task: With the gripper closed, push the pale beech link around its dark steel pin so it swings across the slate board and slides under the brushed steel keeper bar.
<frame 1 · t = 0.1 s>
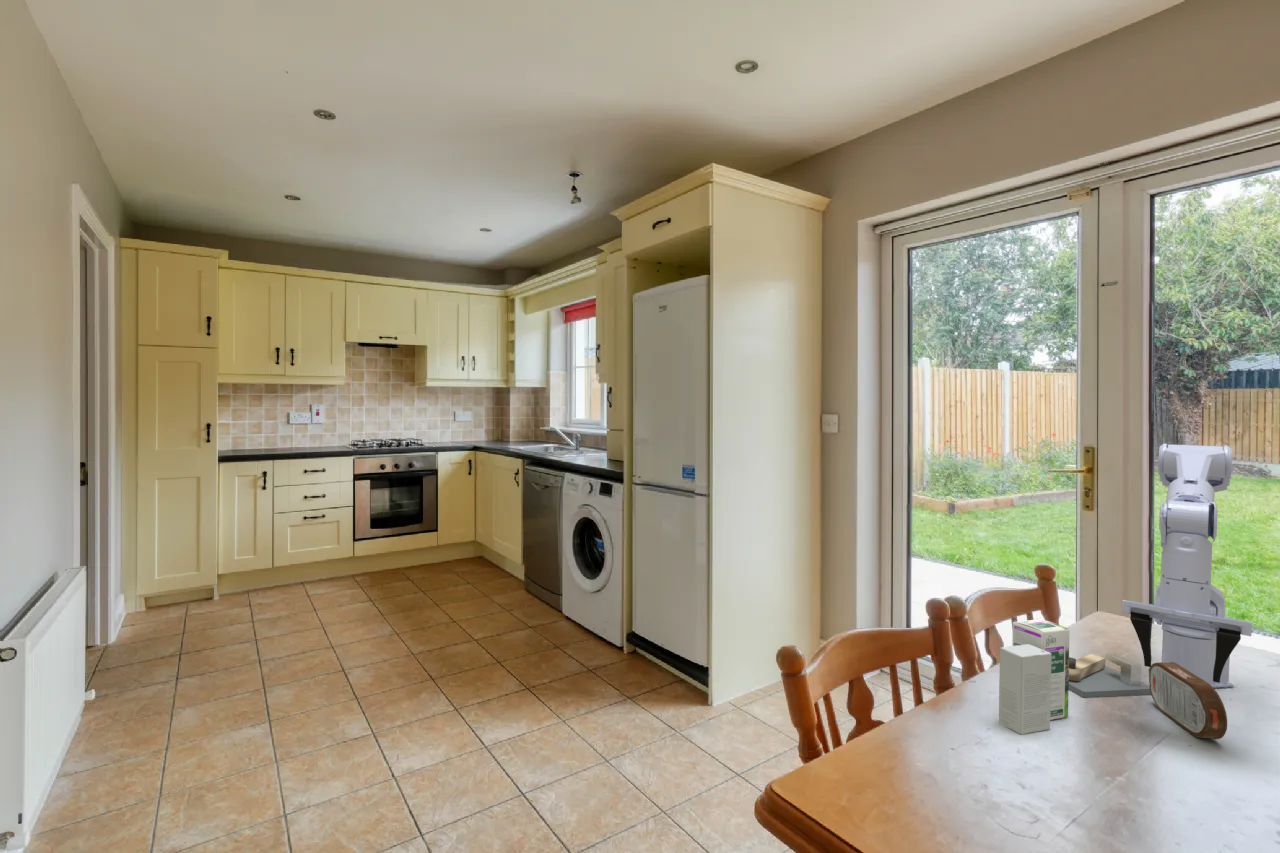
hand: (1181, 673, 93), 11 cm above the table, tool pointing down, fingers open, 7 cm apart
skincare box: (1023, 727, 97), on the table
beech link: (1083, 662, 115), point 3 cm above the table, hinge at 25.0°
syrup box: (1038, 713, 102), on the table
tin: (1182, 725, 99), on the table
steel keeper: (1117, 682, 114), resting on slate board
slate board: (1092, 682, 114), on the table
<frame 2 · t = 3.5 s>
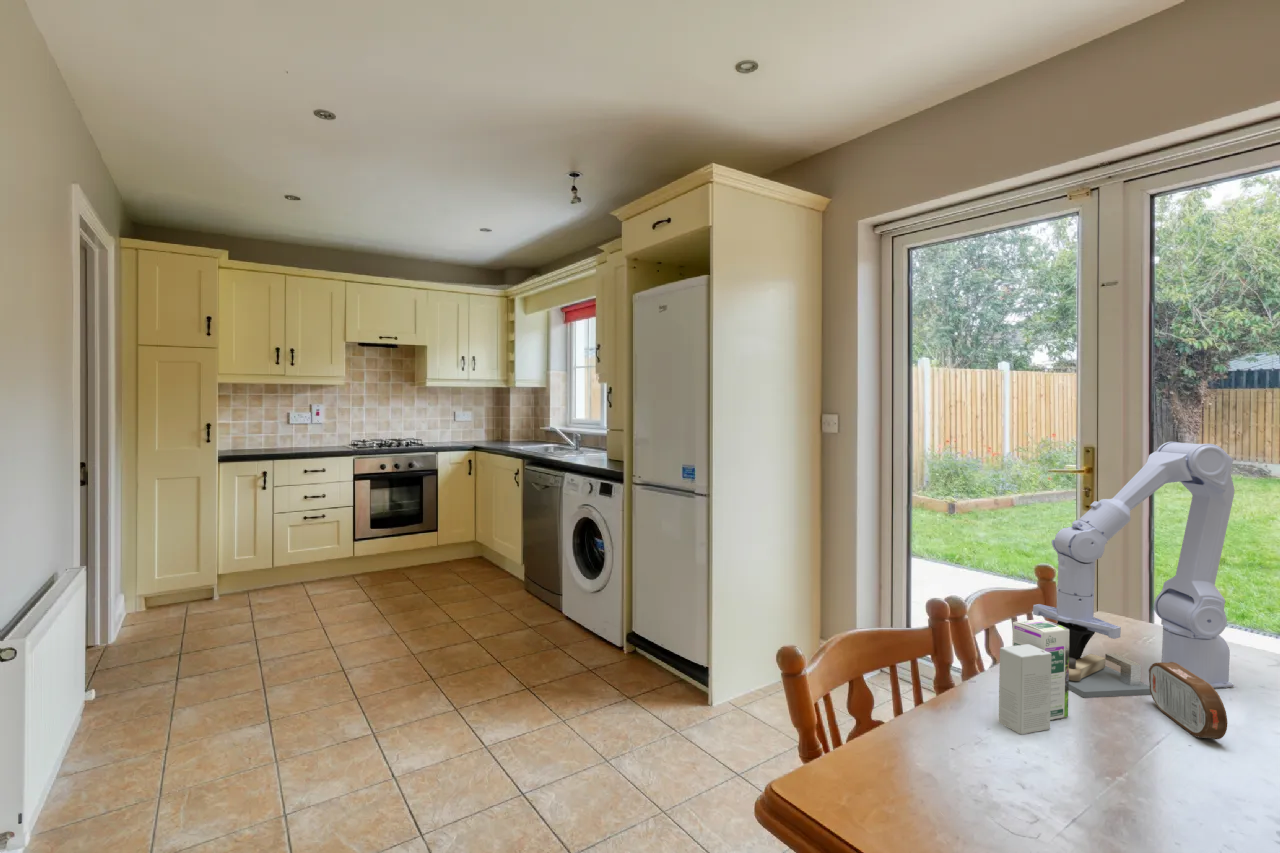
hand: (1073, 663, 118), 2 cm above the table, tool pointing down, fingers closed, pressing on beech link
beech link: (1083, 662, 115), point 3 cm above the table, hinge at 25.0°, touching gripper
everything else where it was.
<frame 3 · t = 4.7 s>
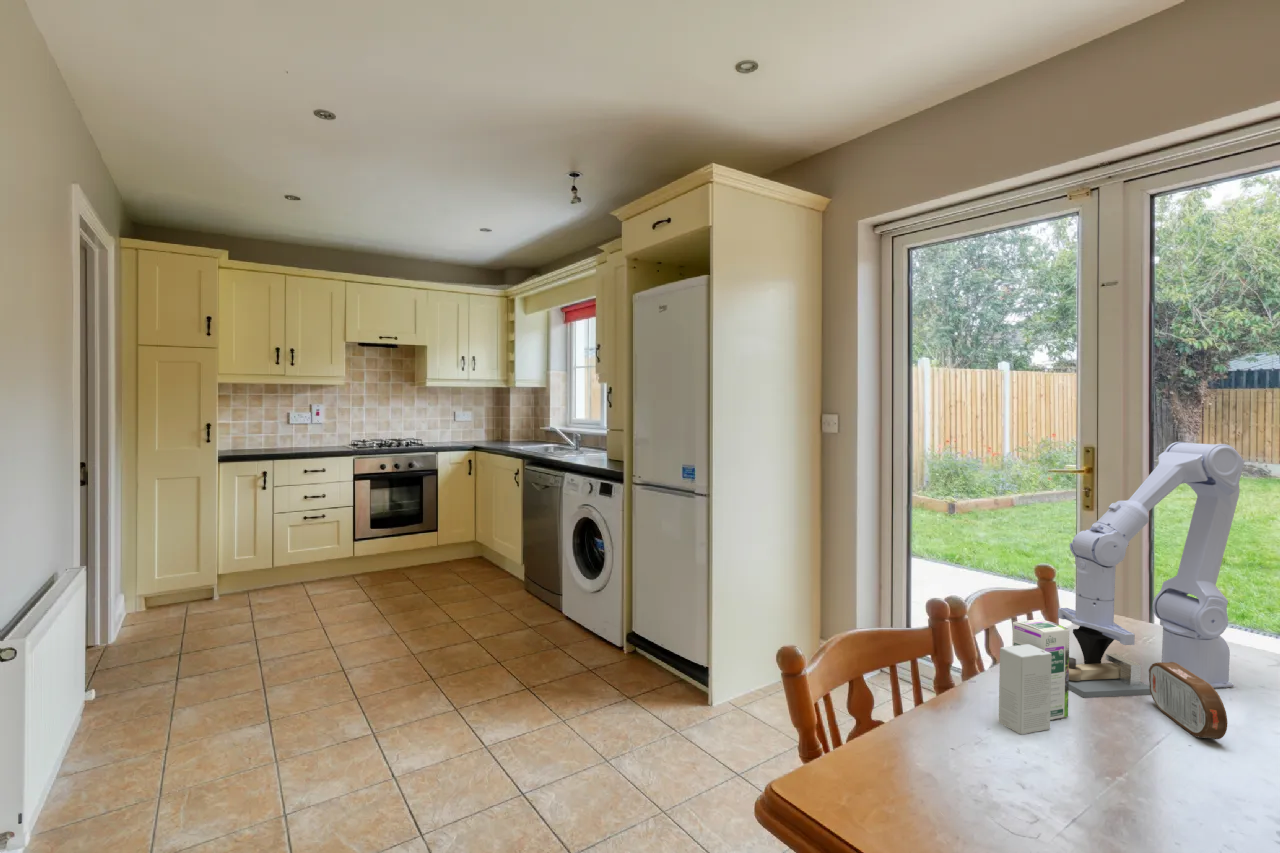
hand: (1092, 669, 115), 2 cm above the table, tool pointing down, fingers closed, pressing on beech link
beech link: (1094, 667, 113), point 3 cm above the table, hinge at 0.4°, touching gripper
everything else where it was.
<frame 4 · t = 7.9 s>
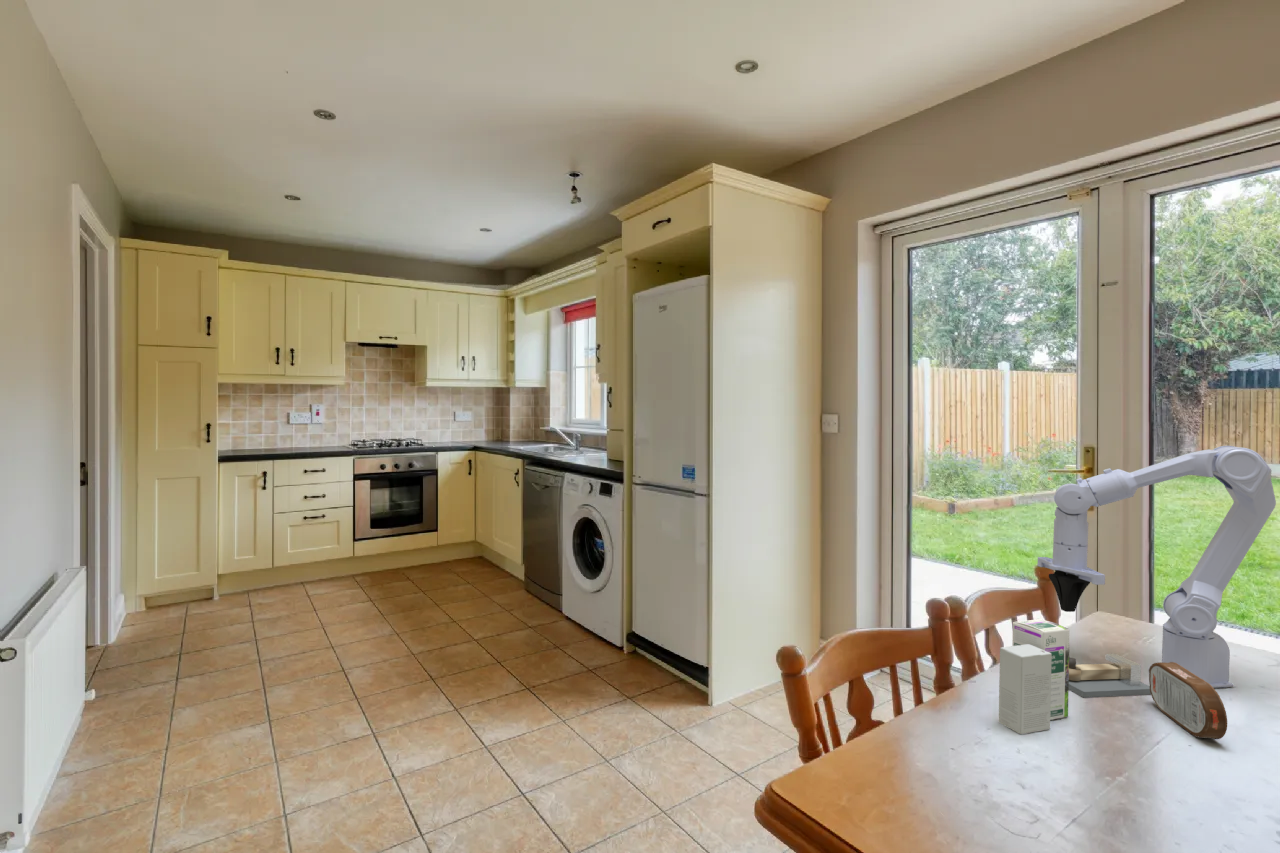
hand: (1068, 610, 126), 9 cm above the table, tool pointing down, fingers closed
beech link: (1094, 667, 113), point 3 cm above the table, hinge at -1.0°
everything else where it was.
at the end: beech link at -1° (first picture: +25°) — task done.
